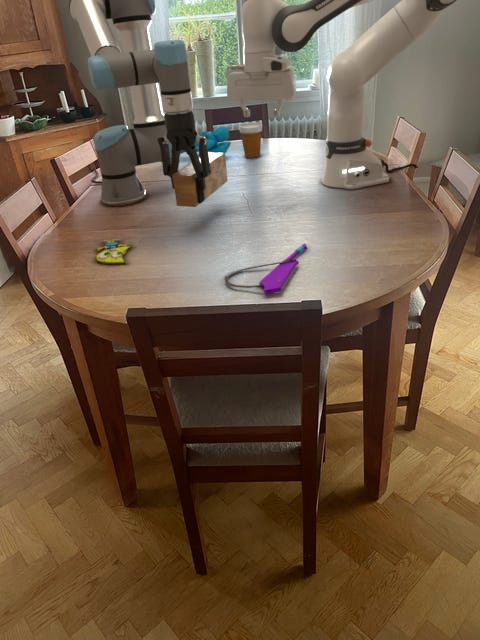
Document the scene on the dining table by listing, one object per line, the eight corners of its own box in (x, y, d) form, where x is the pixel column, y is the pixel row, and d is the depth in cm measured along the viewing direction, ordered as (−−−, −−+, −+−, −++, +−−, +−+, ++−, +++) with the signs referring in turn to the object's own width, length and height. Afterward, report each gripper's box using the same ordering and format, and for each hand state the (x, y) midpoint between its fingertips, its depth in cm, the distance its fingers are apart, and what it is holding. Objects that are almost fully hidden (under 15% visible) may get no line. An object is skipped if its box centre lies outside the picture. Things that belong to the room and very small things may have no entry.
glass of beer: (264, 157, 198) (262, 127, 191) (241, 159, 198) (238, 129, 192) (263, 152, 206) (261, 122, 199) (241, 153, 206) (239, 124, 200)
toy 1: (135, 237, 135) (125, 260, 122) (135, 240, 135) (125, 263, 123) (99, 239, 135) (85, 263, 122) (100, 242, 135) (86, 266, 123)
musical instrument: (224, 303, 104) (316, 286, 101) (222, 294, 103) (315, 277, 100) (230, 261, 125) (306, 246, 122) (228, 253, 124) (305, 239, 121)
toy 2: (168, 140, 212) (230, 120, 202) (177, 163, 217) (238, 145, 207) (155, 150, 198) (221, 129, 188) (165, 175, 203) (230, 156, 193)
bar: (210, 180, 149) (207, 152, 144) (227, 181, 147) (225, 152, 142) (176, 206, 132) (172, 174, 127) (195, 207, 130) (191, 175, 125)
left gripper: (138, 114, 120) (154, 204, 133) (206, 114, 114) (216, 208, 126) (153, 109, 126) (167, 195, 139) (218, 108, 120) (227, 198, 132)
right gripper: (221, 66, 135) (225, 118, 143) (291, 63, 128) (292, 118, 136) (229, 63, 140) (233, 114, 148) (297, 60, 133) (297, 114, 141)
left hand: (190, 201), depth 133 cm, fingers closed on bar, 6 cm apart
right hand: (262, 116), depth 142 cm, fingers open, 8 cm apart
